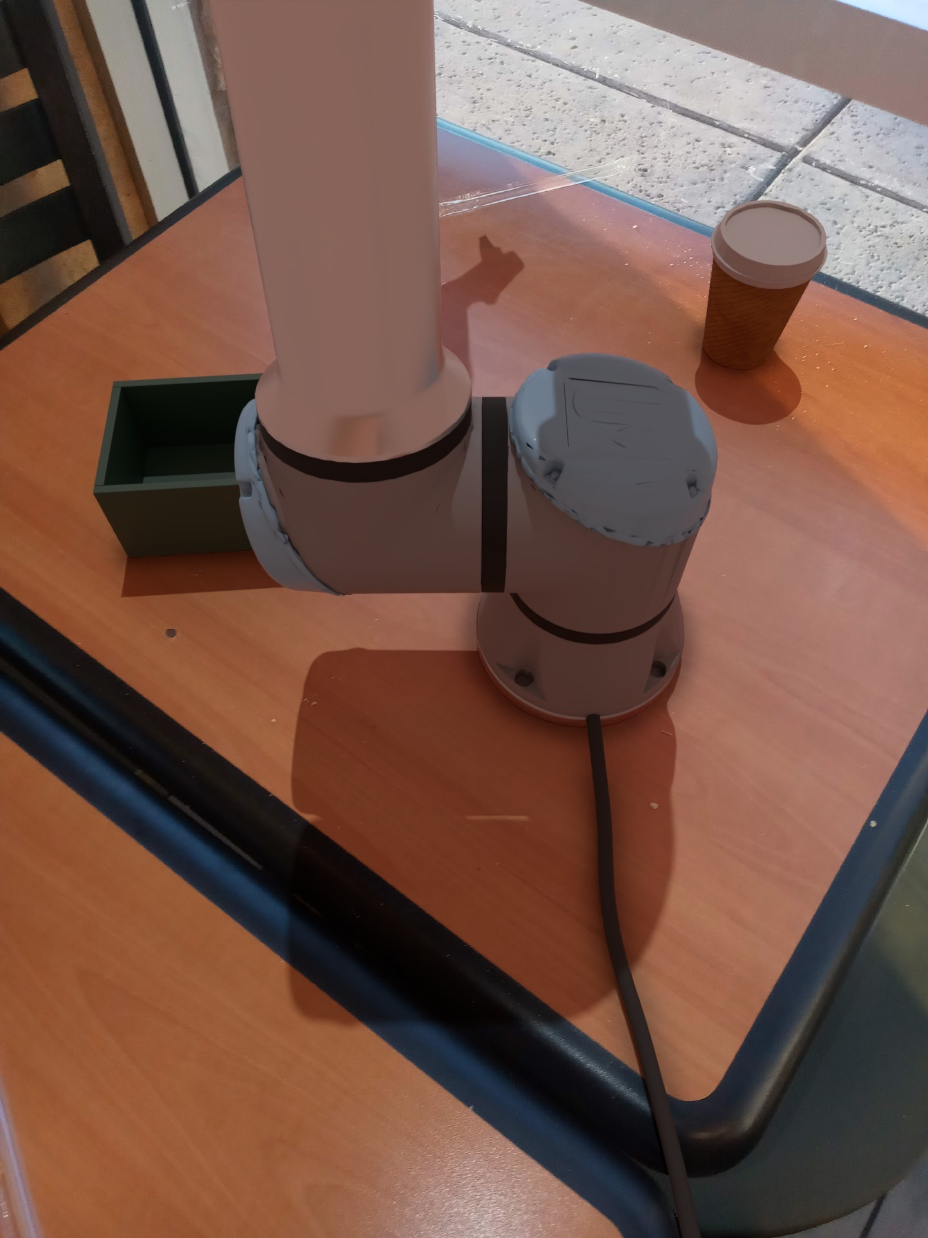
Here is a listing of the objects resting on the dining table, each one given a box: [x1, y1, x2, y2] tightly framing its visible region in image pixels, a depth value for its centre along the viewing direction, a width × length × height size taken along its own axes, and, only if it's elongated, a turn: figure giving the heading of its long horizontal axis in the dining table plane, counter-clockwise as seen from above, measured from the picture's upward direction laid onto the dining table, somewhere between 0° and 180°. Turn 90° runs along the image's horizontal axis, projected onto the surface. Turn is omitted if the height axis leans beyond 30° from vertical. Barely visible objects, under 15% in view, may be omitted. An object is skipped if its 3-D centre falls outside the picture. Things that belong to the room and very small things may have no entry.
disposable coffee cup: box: [702, 199, 829, 370], centre depth 79 cm, size 10×10×12 cm
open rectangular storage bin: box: [92, 372, 264, 558], centre depth 72 cm, size 11×15×8 cm
